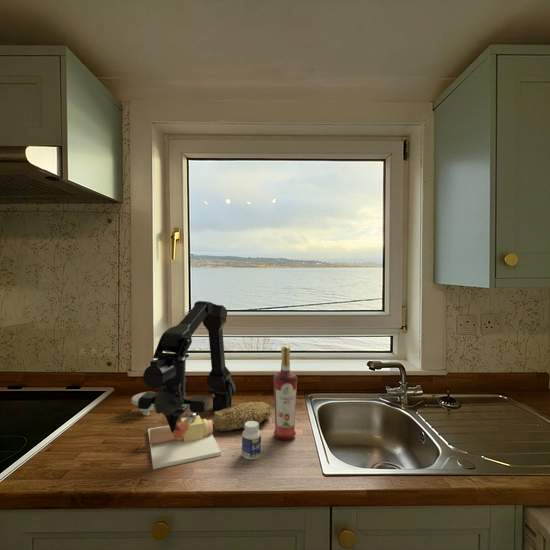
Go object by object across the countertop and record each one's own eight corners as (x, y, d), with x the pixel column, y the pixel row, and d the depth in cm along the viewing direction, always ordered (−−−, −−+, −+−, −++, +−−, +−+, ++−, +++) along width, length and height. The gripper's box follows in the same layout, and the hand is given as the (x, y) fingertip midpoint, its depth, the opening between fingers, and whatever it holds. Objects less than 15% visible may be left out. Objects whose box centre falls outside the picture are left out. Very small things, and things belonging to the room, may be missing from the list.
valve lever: (189, 417, 109) (189, 410, 109) (197, 417, 109) (197, 411, 109) (173, 437, 97) (173, 430, 97) (182, 438, 96) (182, 430, 96)
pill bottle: (253, 462, 96) (253, 430, 96) (238, 456, 99) (238, 425, 99) (264, 453, 101) (264, 422, 100) (249, 448, 103) (249, 418, 103)
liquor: (274, 443, 106) (275, 350, 105) (271, 431, 113) (272, 344, 112) (298, 441, 107) (299, 349, 106) (294, 430, 115) (294, 344, 114)
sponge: (216, 441, 110) (278, 422, 114) (211, 415, 111) (272, 398, 115) (216, 429, 123) (272, 413, 127) (212, 406, 124) (267, 391, 128)
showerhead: (125, 398, 121) (139, 388, 131) (125, 419, 121) (139, 408, 131) (152, 400, 120) (164, 389, 130) (152, 421, 120) (164, 409, 130)
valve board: (204, 422, 120) (204, 405, 120) (220, 455, 99) (221, 434, 99) (148, 431, 113) (148, 413, 113) (153, 469, 92) (153, 447, 92)
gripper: (128, 384, 91) (126, 444, 92) (198, 388, 90) (197, 449, 90) (147, 371, 103) (146, 425, 103) (210, 375, 101) (209, 429, 101)
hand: (173, 432), depth 99 cm, fingers closed
